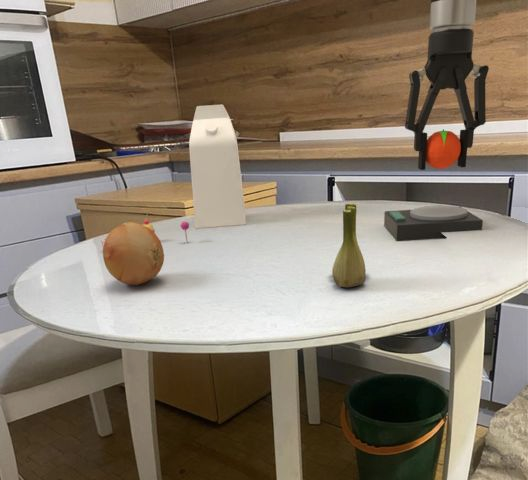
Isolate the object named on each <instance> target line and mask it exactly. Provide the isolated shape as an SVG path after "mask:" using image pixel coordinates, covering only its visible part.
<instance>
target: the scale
mask: <svg viewBox="0 0 528 480" xmlns="http://www.w3.org/2000/svg"><path fill="white" fill-rule="evenodd" d="M383 218H384V219H383V226H384V227H385V228H386V229H387V231H388V232H389V233H390V235H391V236H392V237H393V238H394V239H395V240H396V242H402V241H416V240H433V239H447V238H448V237H447V236H446V235H445V234H444V233H457V232H458V233H459V232H474V231H476V232H477V231H483V223H484V220H483V219H482V218H480V217H479V216H477V215H475V214H473V213H472V212H470V211H468V209H466V208H464V207H463V206H454V205H428V206H427V205H426V206H420V207H415V208H413V209H402V210H401V209H399V210H385V211H384V217H383Z"/></svg>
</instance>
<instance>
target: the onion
mask: <svg viewBox="0 0 528 480" xmlns="http://www.w3.org/2000/svg"><path fill="white" fill-rule="evenodd" d="M105 239H106V240H105V243H104V246H103V247H102V258H103V262H104V265H105V268H106V269H107V271H108V273H109V274H110V275H111V276H112V277H113V278H114V279H116V280H117V281H119V282H121V283H123V284H127V285H134V286H135V285H138V286H139V285H142V284H144V283H146V282H148V281H150V280H152V279H153V278H155V277H157V275H159V273H160V272H161V270H162V268H163V266H164V262H165V254H164V253H165V252H164V248H163V244H162V242H161V240H160V238H159V237H158V235H157V234H156V232H155V233H154V232H153V231H152V230H150V229H149V228H147V227H146V226H144V224H142V223H138V222H133V221H132V222H129V221H127V222H124V223H121V224H119V225H117V226H116V227H114V228H113V229H112V230H111V231H110V232H109V233H108V234H107V235H106V238H105Z"/></svg>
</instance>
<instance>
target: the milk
mask: <svg viewBox="0 0 528 480" xmlns="http://www.w3.org/2000/svg"><path fill="white" fill-rule="evenodd" d="M188 146H189V147H188V148H189V163H190V164H189V165H190V177H191V191H192V192H191V193H192V204H193V219H194V220H193V221H194V229H205V228H217V227H218V228H219V227H233V226H246V225H247V213H246V212H247V211H246V204H245V203H246V202H245V195H244V188H243V181H242V180H243V178H242V172H241V163H240V154H239V147H238V139H237V134H236V131H235V129H234V126H233V122H232V120H231V117H230V115H229V113H228V111H227V109H226V107H225V106H224V104H211V105H210V104H209V105H197V106H196V107H195V112H194V116H193V120H192V125H191V128H190V134H189V142H188Z"/></svg>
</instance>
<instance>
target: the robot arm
mask: <svg viewBox="0 0 528 480" xmlns="http://www.w3.org/2000/svg"><path fill="white" fill-rule="evenodd" d="M476 11H477V0H430V11H429V12H430V13H429V26H428V28H429V30H430V31H432V33H430V34H429V35H428V43H427V60H426V63H425V65H424V67H423V68H421V69H417V70H412V71H410V72H409V74H408V77H409V83H410V84H409V85H410V87H409V96H408V102H407V108H406V114H405V115H406V116H405V122H404V128H405V130H408V131H411V132H413V134H414V138H413V139H414V140H413V149H414V151H415V152H418V160H417V161H418V162H417V169H418V170H420V171H425V170H426V165H427V162H426V148H427V139H428V132H424V131H425V128H426V125H427V123H428V121H429V118H430V115H431V112H432V110H433V107H434V104H435V102H436V100H437V97H438V95H439V94H440V92H441V90H446V89H449V90H452V89H453V91H454V94H455V95H456V100H457V103H458V107H459V111H460V115H461V119H462V122H463V125H464V129H460V132H459V140H460V143H461V152H460V155H459V157H458V159H457V163H456V165H457V167H460V168H466V167H467V166H466V165H467V156H468V155H467V154H468V149H471V148H472V147H473V145H474V134H475V130H476V129H477V128H479V127H480V126H484V125H485V124H486V121H487V120H486V79H487V76H488V73H489V70H490V68H489V66H488V65H480V64H476V63H475V62H474V60H473V57H472V56H473V47H474V36H475V35H474V34H475V31H474V30H473V29H472V28H471V27H473V26H474V25H475V24H476ZM474 63H475V64H474ZM471 73H472V78H473V79H474V81H473V97H474V99H473V102H474V103H473V104H474V105H473V106H474V107H473V109H474V115H473V111H472V107H471V103H470V100H469V99H470V98H469V96H468V92H467V89H468V87H467V84H466V80H467V78H468V77H469V75H470V74H471ZM424 76H426V78H427V79H428V81H429V83H430V85H429V87H428V89H427V95H426V96H425V97H426V98H425V99H424V102H423V105H422V107H421V110H420V112H419V115H418V118H417V121H416V117H417V109H418V105H419V97H420V92H421V83H422V82H423V81H424ZM415 122H416V123H415Z"/></svg>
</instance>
